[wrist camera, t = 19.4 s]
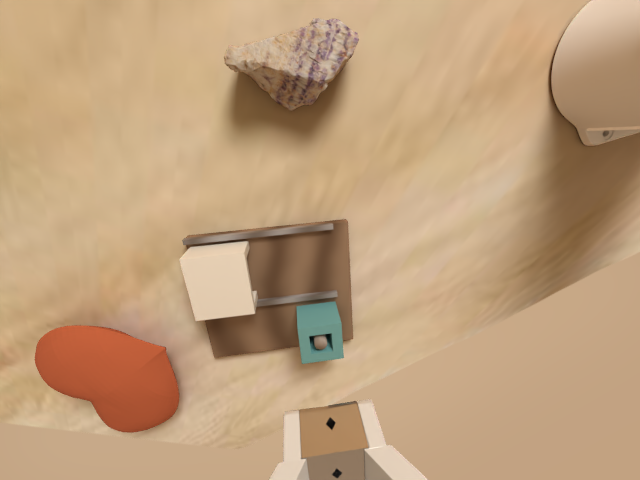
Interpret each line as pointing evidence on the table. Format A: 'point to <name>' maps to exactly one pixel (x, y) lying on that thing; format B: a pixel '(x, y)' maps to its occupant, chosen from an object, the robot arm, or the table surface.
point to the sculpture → (110, 374)
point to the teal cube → (319, 331)
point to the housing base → (284, 284)
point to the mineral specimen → (296, 61)
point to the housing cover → (219, 280)
